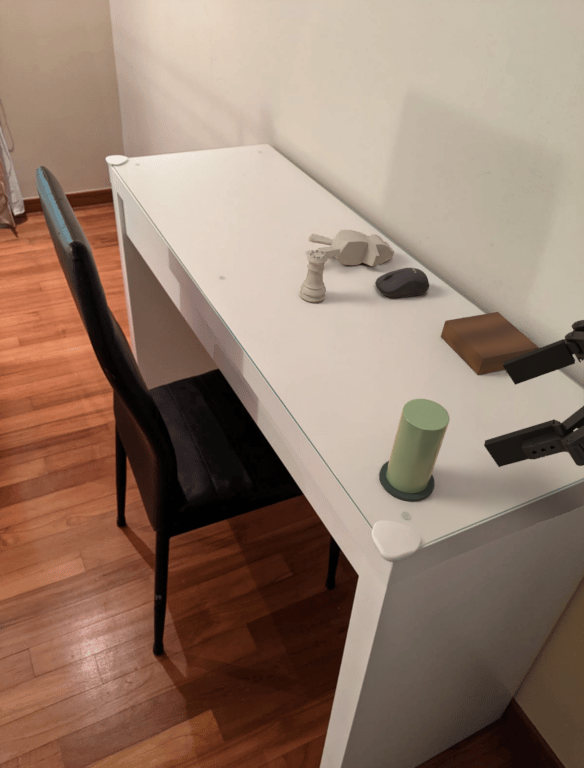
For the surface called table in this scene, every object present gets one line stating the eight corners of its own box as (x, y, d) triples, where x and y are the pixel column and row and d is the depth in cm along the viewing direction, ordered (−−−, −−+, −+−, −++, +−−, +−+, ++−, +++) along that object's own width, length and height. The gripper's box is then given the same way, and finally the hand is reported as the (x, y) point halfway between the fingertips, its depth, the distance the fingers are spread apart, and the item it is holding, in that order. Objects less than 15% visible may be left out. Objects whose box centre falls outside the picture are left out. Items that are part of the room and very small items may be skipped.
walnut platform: (532, 363, 92) (539, 347, 90) (477, 375, 88) (483, 358, 86) (492, 327, 99) (497, 311, 97) (440, 336, 95) (445, 320, 93)
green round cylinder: (436, 487, 70) (459, 424, 64) (399, 498, 69) (418, 434, 62) (414, 457, 74) (433, 394, 67) (378, 466, 72) (394, 403, 66)
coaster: (444, 493, 70) (445, 491, 70) (396, 507, 68) (396, 505, 68) (415, 455, 75) (416, 452, 74) (369, 466, 73) (370, 464, 72)
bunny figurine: (403, 250, 108) (324, 245, 104) (394, 275, 111) (317, 271, 107) (383, 227, 115) (309, 220, 110) (376, 251, 118) (303, 246, 114)
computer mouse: (370, 283, 106) (374, 262, 104) (419, 280, 109) (424, 260, 106) (382, 300, 102) (386, 279, 100) (432, 297, 105) (438, 276, 102)
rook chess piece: (293, 293, 102) (297, 250, 97) (314, 287, 104) (319, 244, 99) (310, 306, 99) (315, 262, 94) (331, 299, 101) (337, 255, 96)
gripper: (711, 229, 56) (498, 320, 69) (762, 378, 38) (459, 464, 51) (743, 294, 58) (530, 371, 71) (806, 465, 40) (504, 527, 53)
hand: (500, 410), depth 61 cm, fingers open, 13 cm apart
